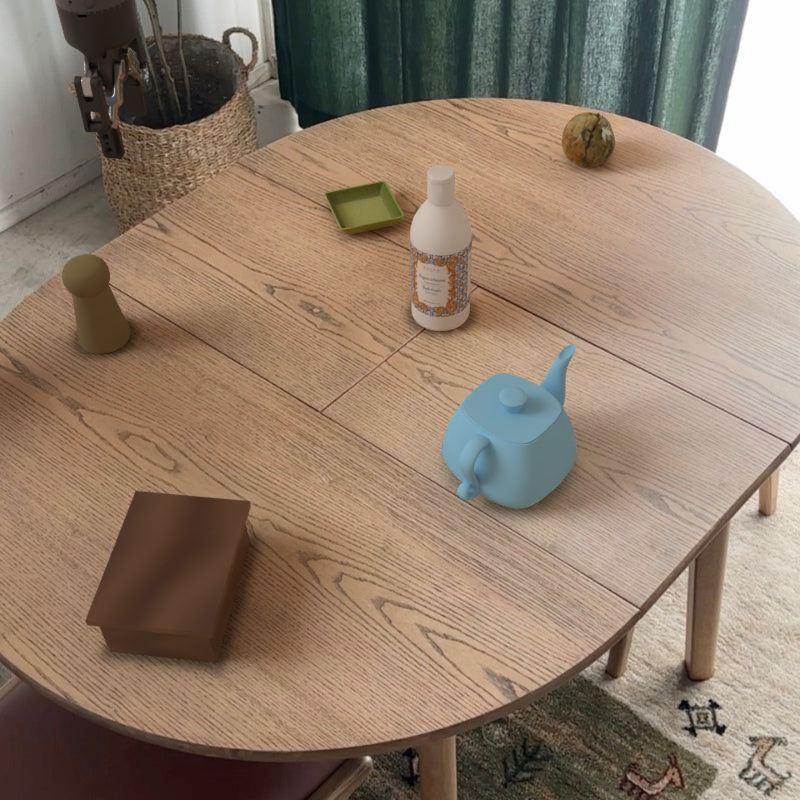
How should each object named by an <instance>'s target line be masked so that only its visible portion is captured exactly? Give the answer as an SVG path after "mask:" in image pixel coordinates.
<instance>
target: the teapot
mask: <svg viewBox="0 0 800 800" xmlns="http://www.w3.org/2000/svg"><path fill="white" fill-rule="evenodd" d="M576 349H577V346H576V344H574V343H570V344H568V345H566V346H564V347H563V348H562V349H561V350H560V351H559V352H558V353H557V356H556V357H555V359H554V360H553V361H552V364H551V366H550V368H549V370H548V372H547V373H546V375H545V377H544V379H543V380H542V382H541V383H540V385H539V384H537V383H536V382H533V381H531V380H529V379H527V378H524V377H521V376H518V375H515V374H511V373H506V372H503V373H502V372H501V373H496V374H495V373H494V374H493V375H491V376H489V377H488V378H486V379H485V380H483V381H482V382H481V383H480V384H478V386H477V387H475V388H474V389H472V391H470V393H469V394H468V395H467V396H466V397H465V399H464V400H463V401H462V402H461V403H460V405H459V406H458V407H457V408H456V410H455V411H454V413H453V415H451V417H450V420H449V421H448V424H447V426H446V427H445V428H446V429H445V431H444V433H443V434H444V435H443V437H442V438H443V439H442V444H441V454H442V455H441V456H442V458H443V461H444V463H445V465H446V466H447V468H448V470H449V471H450V472H451V473H452V474H453V475H454V476H455V477H456V479H458V480H459V481H460V484H459V486H458V488H457V495H458V497H459V498H460V499H461V500H463V501H471V500H473V499H475V498H476V496H477V495H478V496H479V497H480V498H483V499H485V500H487V501H490V502H491V503H494V504H496V505H500V506H503V507H505V508H510V509H526V508H529V507H531V506H534V505H536V504H537V503H539V502H540V501H542V500H544V499H545V498H546V497H547V496H548V495H550V493H552V492H553V491H554V490H556V488H557V487H559V486H560V484H562V482H563V481H564V480H565V479H566V477H567V476H568V474H569V473H570V471H571V470H572V468H573V467H574V465H575V463H576V460H577V454H578V447H577V437H576V433H575V429H574V426H573V424H572V421H571V419H570V417H569V415H568V413H567V411H566V410H565V408H564V405H565V401H566V384H567V383H566V378H567V370H568V367H569V365H570V362H571V361H572V358H573V356H574V354H575V353H576Z"/></svg>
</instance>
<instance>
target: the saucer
mask: <svg viewBox="0 0 800 800" xmlns="http://www.w3.org/2000/svg"><path fill="white" fill-rule="evenodd" d="M323 196H324V198H325V201H326V203H327V204H328V207H329V208H330V211H331V213H332V215H333V217H334V220H335V222H336V223H337V226H338V228H339V229H340V231H341V232H343V233H344V234H346V235H355V234H358V233H359V234H360V233H364V232H368V231H372V230H377V229H382V228H383V229H384V228H388V227H392V226H394V225H396V224H398V223H399V222H401V221H402V220H403V219H404V218H405V213H404V211H403V209H402V208H401V206H400V204H399V202H398V200H397V198H396V197H395V195H394V193H393V192H392V189H391V188H390V186H389V184H388V182H387V181H386V180H379V181H374V182H369V183H364V184H360V185H355V186H350V187H344V188H339V189H334V190H329V191H324V193H323Z"/></svg>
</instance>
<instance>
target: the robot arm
mask: <svg viewBox="0 0 800 800" xmlns="http://www.w3.org/2000/svg"><path fill="white" fill-rule="evenodd" d="M54 4H55V7H56V11H57V15H58V18H59V23H60V25H61V30H62V34H63V38H64V39H65V42H66V43H67V44H68V45H69V46H70V47H72V48H73V49H75V50H77V51H79V52H80V53H81V54H82V55H83V60H84V62H83V66H84V67H83V72H84V75H75V76H74V77H73V85H74V86H73V87H74V90H75V94H76V99H77V103H78V107H79V112H80V115H81V116H80V117H81V120H82V124H83V129H84V131H85V133H97V136H98V140H99V143H100V147H101V151H102V155H103V156H104V157H105V158H106V159H114V160H115V159H116V160H121V159H123V158H124V157H125V154H126V149H125V145H124V141H123V136H122V132H121V130H120V129H121V128H120V124H119V108H120V107H121V106H122V105H123V104H124V108H125V112H126V114H127V115H128V116H131V117H144V116H145V115H146V113H147V112H148V107H147V103H146V98H145V94H144V89H143V85H142V83H143V81H144V73H143V71H142V70H145V69H146V68H147V59H146V54H145V50H144V46H143V41H142V37H141V34H140V23H139V19H138V13H137V8H136V5H135V0H54ZM134 52H135V54H136V56H135V54H134ZM105 93H113V94H112V95H111V96H106V94H105ZM108 106H109V107H108Z"/></svg>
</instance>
